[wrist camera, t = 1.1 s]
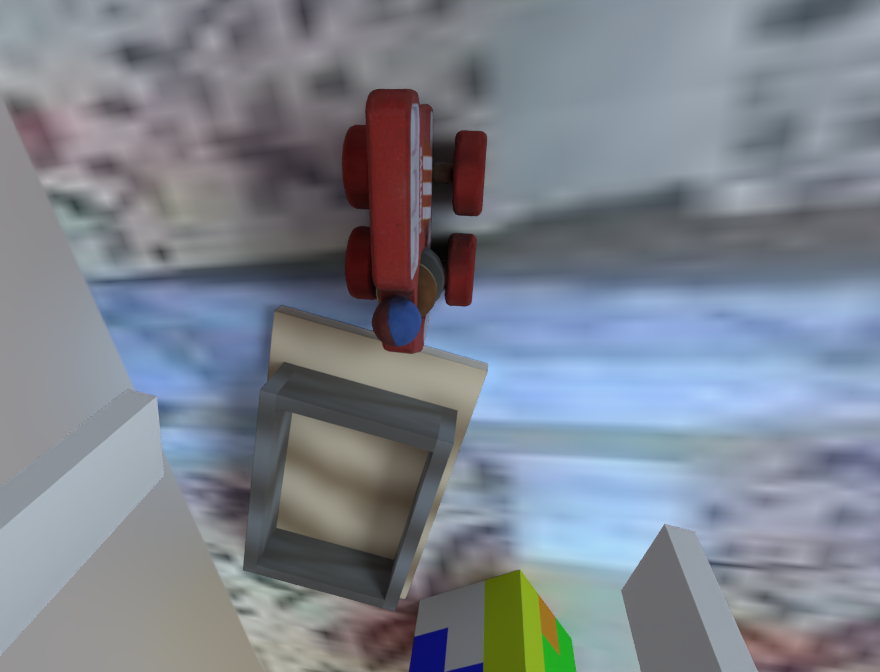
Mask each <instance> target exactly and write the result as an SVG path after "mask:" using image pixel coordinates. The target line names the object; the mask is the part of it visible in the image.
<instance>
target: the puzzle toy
mask: <svg viewBox="0 0 880 672" xmlns="http://www.w3.org/2000/svg"><path fill="white" fill-rule="evenodd" d="M409 672H576V667H575V660H574V653H573V646H572V640H571V638H570V637H569V635H568V634H567V633H566V631H565V630H564V628H563V627H562V626H561V624H560V623H559V622H558V620H557V619H556V618H555V616H554V615H553V614H552V612H551V611H550V610H549V608H548V607H547V605H546V604H545V603H544V601H543V600H542V599H541V597H540V596H539V595H538V593H537V592H536V591H535V589H534V588H533V586H532V585H531V584H530V582H529V581H528V580H527V578H526V577H525V576H524V574H523V573H522V572H521V570H517V571H514V572H511V573H507V574H504V575H501V576H498V577H494V578H491V579H488V580H484V581H481V582H478V583H474V584H471V585H468V586H465V587H461V588H458V589H455V590H451V591H448V592H445V593H442V594H438V595H435V596H432V597H428V598H425V599H422V600H420V603H419V610H418V616H417V623H416V629H415V636H414V642H413V649H412V655H411V662H410V668H409Z"/></svg>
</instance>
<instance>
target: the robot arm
mask: <svg viewBox="0 0 880 672" xmlns="http://www.w3.org/2000/svg"><path fill="white" fill-rule="evenodd" d="M163 476H164V469H163V459H162V447H161V437H160V426H159V416H158V405H157V396H153V395H149V394H145V393H141V392H137V391H133V390H129V389H127V390H126V391H124V392H123V393H121V394H120V395H119V396H118V397H116V398H115V399H114V400H112V401H111V402H110V403H108V404H107V405H106V406H104V407H103V408H102V409H101V410H99V411H98V412H97V413H95V414H94V415H93V416H91V417H90V418H89V419H87V420H86V421H85V422H84V423H82V424H81V425H80V426H78V427H77V428H76V429H74V430H73V431H72V432H70V433H69V434H68V435H67V436H65V437H64V438H63V439H61V440H60V441H59V442H57V443H56V444H55V445H53V446H52V447H51V448H50V449H48V450H47V451H46V452H44V453H43V454H42V455H41V456H39V457H38V458H37V459H35V460H34V461H33V462H31V463H30V464H29V465H27V466H26V467H25V468H23V469H22V470H21V471H20V472H18V473H17V474H16V475H15V476H13V477H12V478H10V479H9V480H8V481H6V482H5V483H4V484H2V485H1V486H0V656H1V655H2V653H4V651H5V650H6V649H7V648H8V647H9V646H10V645H11V644H12V643H13V641H14V640H15V639H16V638H17V637H18V636H19V635H20V634H21V633H22V632H23V630H24V629H25V628H26V627H27V626H28V625H29V624H30V623H31V622H32V620H33V619H34V618H35V617H36V616H37V615H38V614H39V613H40V612H41V611H42V610H43V608H44V607H45V606H46V605H47V604H48V603H49V601H51V600H52V598H53V597H54V596H55V595H56V594H57V593H58V592H59V591H60V590H61V588H62V587H63V586H64V585H65V584H66V583H67V582H68V581H69V580H70V579H71V577H72V576H73V575H74V574H75V573H76V572H77V571H78V570H79V568H81V566H82V565H83V564H84V563H85V562H86V561H87V560H88V559H89V558H90V556H91V555H92V554H93V553H94V552H95V551H96V550H97V549H98V548H99V547H100V545H101V544H102V543H103V542H104V541H105V540H106V539H107V538H108V537H109V536H110V534H111V533H112V532H113V531H114V530H115V529H116V528H117V527H118V526H119V525H120V523H121V522H122V521H123V520H124V519H125V518H126V517H127V516H128V515H129V513H130V512H131V511H132V510H133V509H134V508H135V507H136V506H137V504H139V502H140V501H141V500H142V499H143V498H144V497H145V496H146V495H147V494H148V492H149V491H150V490H151V489H152V488H153V487H154V486H155V485H156V484H157V483H158V481H159V480H160V479H161V478H162V477H163ZM621 591H622V595H623V600H624V604H625V608H626V612H627V616H628V620H629V624H630V628H631V632H632V636H633V640H634V644H635V649H636V653H637V657H638V661H639V665H640V669H641V672H758V671H757V669H756V667H755V664H754V662H753V660H752V658H751V656H750V653H749V651H748V649H747V647H746V644H745V642H744V640H743V638H742V636H741V633H740V631H739V629H738V627H737V624H736V622H735V620H734V618H733V616H732V613H731V611H730V609H729V607H728V604H727V602H726V600H725V598H724V595H723V593H722V591H721V589H720V587H719V584H718V582H717V580H716V578H715V575H714V573H713V571H712V569H711V567H710V564H709V562H708V560H707V558H706V555H705V553H704V551H703V549H702V547H701V544H700V542H699V540H698V538H697V535H696V533H695V531H691V530H687V529H683V528H679V527H675V526H671V525H667V524H664V526H663V527H662V529H661V531H660V532H659V534H658V535H657V537H656V538H655V540H654V541H653V543H652V544H651V546H650V547H649V549H648V550H647V552H646V554H645V555H644V557H643V558H642V560H641V561H640V563H639V564H638V566H637V567H636V569H635V570H634V572H633V574H632V575H631V577H630V578H629V580H628V581H627V583H626V584H625V586H624V587H623V589H622V590H621Z"/></svg>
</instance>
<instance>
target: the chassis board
mask: <svg viewBox="0 0 880 672" xmlns="http://www.w3.org/2000/svg"><path fill="white" fill-rule="evenodd" d="M487 372H488V364H487V363H484V362H480V361H477V360H473V359H470V358H466V357H462V356H459V355H455V354H452V353H448V352H445V351H441V350H438V349H434V348H431V347H427V346H423V349H422V351H421V352H418V353H414V354H407V353H397V352H389V351H386V350H385V349H384V348H383V346H382V342H381V341H380V340H379V339H378V338H377V337H376V335H375V333H374V331H371V330H367V329H363V328H360V327H356V326H353V325H349V324H346V323H342V322H339V321H335V320H332V319H328V318H325V317H321V316H317V315H314V314H310V313H307V312H303V311H300V310H296V309H293V308H289V307H286V306H282V305H281V306H280V307H278V308H277V309H276V310H275V311H274V320H273V330H272V340H271V349H270V359H269V369H268V378H267V383H266V384H265V385H264V386H263V387H262V389H261V390H260V398H259V408H258V419H257V429H256V439H255V450H254V460H253V471H252V481H251V492H250V502H249V512H248V523H247V533H246V544H245V554H244V565H243V570H244V571H248V572H252V573H255V574H259V575H263V576H266V577H270V578H274V579H277V580H281V581H285V582H288V583H292V584H296V585H300V586H303V587H307V588H311V589H314V590H318V591H322V592H325V593H329V594H333V595H336V596H340V597H344V598H347V599H351V600H355V601H358V602H362V603H366V604H369V605H373V606H377V607H380V608H384V609H388V610H391V611H395V610H396V607H397V604H398V601H399V598H403V599H406V596H407V593H408V591H409V588H410V585H411V582H412V580H413V577H414V574H415V571H416V568H417V566H418V563H419V560H420V557H421V555H422V552H423V549H424V546H425V544H426V541H427V538H428V535H429V532H430V530H431V527H432V524H433V521H434V519H435V516H436V513H437V510H438V508H439V505H440V502H441V499H442V496H443V494H444V491H445V488H446V485H447V483H448V480H449V477H450V474H451V472H452V469H453V466H454V463H455V460H456V458H457V455H458V452H459V449H460V447H461V444H462V441H463V438H464V436H465V433H466V430H467V427H468V424H469V422H470V419H471V416H472V413H473V411H474V408H475V405H476V402H477V400H478V397H479V394H480V391H481V388H482V386H483V383H484V380H485V377H486V375H487Z"/></svg>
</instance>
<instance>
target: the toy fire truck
mask: <svg viewBox="0 0 880 672" xmlns="http://www.w3.org/2000/svg"><path fill="white" fill-rule="evenodd" d="M365 114H366V125H354V126H352V127H350V128H349V130H348V131H347V134H346V136H345V140H344V144H343V153H342V173H343V182H344V188H345V193H346V196H347V199H348V201H349V203H350V205H351V206H352V207H354V208H356V209H370V227H366V226H360V227H356V228H355V229H354V230H353V231H352V233H351V235H350V237H349V240H348V245H347V250H346V257H345V276H346V282H347V287H348V290H349V293H350V295H351V296H352V297H355V298H357V299H370V300H374V299H377V300H378V302H379V305H378V306H377V308H376V310H375V312H374V314H373V318H372V327H373V331H374V333H375V335H376V337H377V338H378V339H379V340H380V341H381V342H382V346H383V348H384V349H385V350H386V351H389V352H397V353H407V354H414V353H418V352H421V351H422V349H423V346H424V341H425V337H426V332H427V328H428V322H429V311H430V310H431V309H432V307H433V306H434V304H435V301H436V300H437V299H438V298H439V297H440V295H441V293H442V290H443V288H445V300H446V303H447V304H448V305H450V306H468V305H470V304H471V302H472V292H473V279H474V267H475V253H476V241H477V239H476V237H475V236H474V235H473V234H463V233H453V234H451V235H450V237H449V243H448V253H447V260H440V259H439V257H438V256H437V255H436V254H435V253H434V252H433V251H432V250H431V220H432V181H435V182H439V183H452V184H453V198H452V204H453V211H454V213H455V214H456V215H461V216H478V215H479V214H480V213H481V212H482V205H483V189H484V175H485V160H486V146H487V135H486V134H485V133H484V132H482V131H466V130H462V131H459V132H458V133H457V134H456V138H455V150H454V161H453V164H452V163H445V162H434V161H433V109H432V107H431V106H430V105H428V104H422V105H420V103H419V98H418V93H417V92H416V91H414V90H411V89H376V90H373V91H372V92H370V94H369V96H368V99H367V102H366V109H365Z"/></svg>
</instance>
